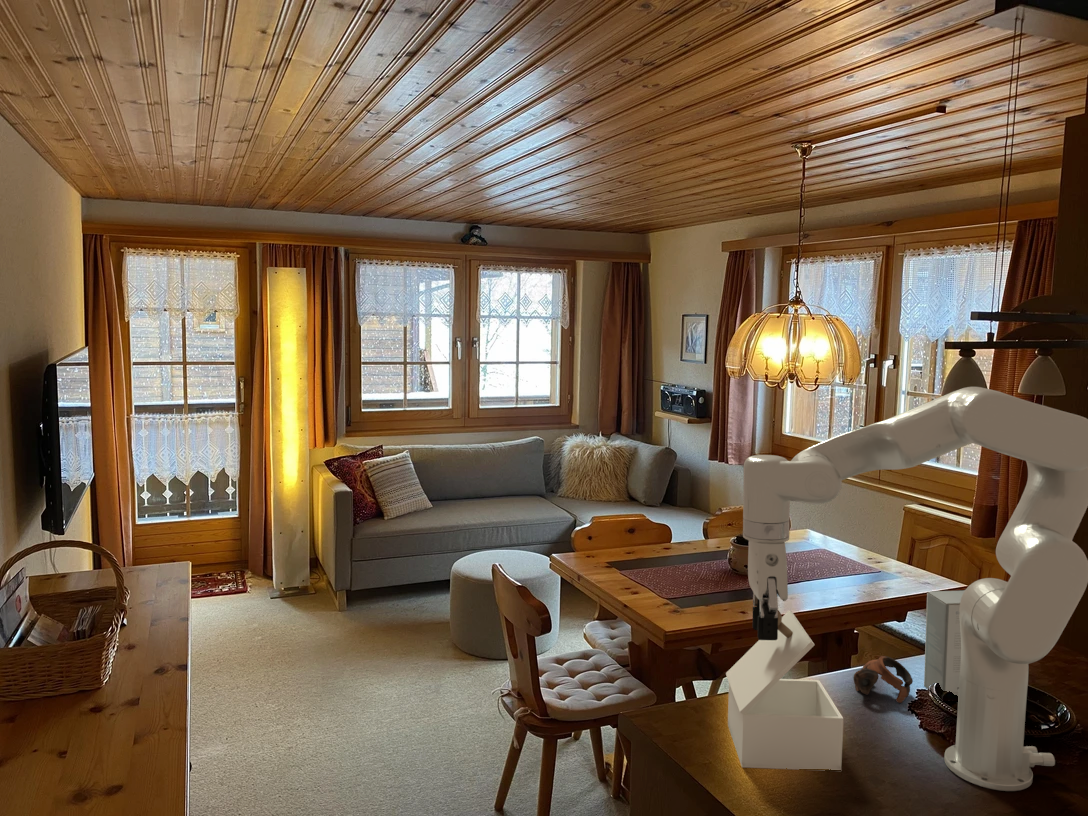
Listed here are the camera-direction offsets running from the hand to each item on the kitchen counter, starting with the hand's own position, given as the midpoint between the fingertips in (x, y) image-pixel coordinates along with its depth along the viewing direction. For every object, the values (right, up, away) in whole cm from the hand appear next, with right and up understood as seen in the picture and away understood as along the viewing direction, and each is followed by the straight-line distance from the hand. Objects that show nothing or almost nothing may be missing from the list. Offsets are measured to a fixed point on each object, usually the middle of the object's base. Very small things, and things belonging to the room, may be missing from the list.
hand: (764, 633), depth 134 cm
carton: (+3, -20, +2) cm, 20 cm away
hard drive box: (+47, -18, +22) cm, 55 cm away
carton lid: (+1, -5, 0) cm, 5 cm away
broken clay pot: (+28, -18, +22) cm, 40 cm away
